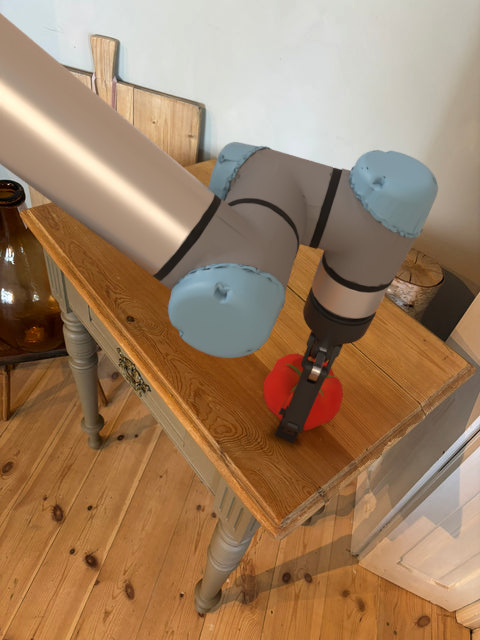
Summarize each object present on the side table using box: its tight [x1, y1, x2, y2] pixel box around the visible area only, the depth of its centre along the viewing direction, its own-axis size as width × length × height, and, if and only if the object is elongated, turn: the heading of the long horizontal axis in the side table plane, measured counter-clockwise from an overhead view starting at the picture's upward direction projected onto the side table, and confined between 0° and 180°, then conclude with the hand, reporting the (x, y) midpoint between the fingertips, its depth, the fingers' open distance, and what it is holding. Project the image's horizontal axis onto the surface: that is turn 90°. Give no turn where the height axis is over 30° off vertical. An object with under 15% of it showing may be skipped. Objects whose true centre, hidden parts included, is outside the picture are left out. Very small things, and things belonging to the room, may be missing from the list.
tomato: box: [263, 352, 344, 431], centre depth 64 cm, size 11×11×8 cm
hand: (296, 404), depth 66 cm, fingers closed on tomato, 11 cm apart
